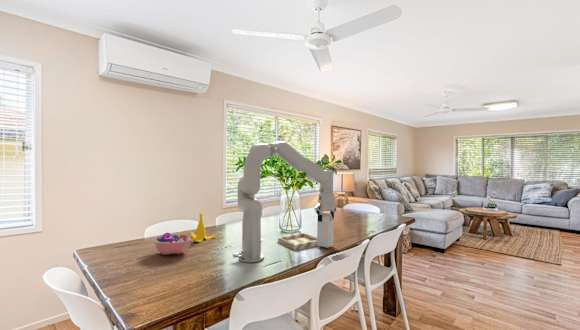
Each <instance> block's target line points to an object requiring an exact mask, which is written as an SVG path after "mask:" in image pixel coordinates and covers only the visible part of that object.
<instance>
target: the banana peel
mask: <svg viewBox="0 0 580 330" xmlns="http://www.w3.org/2000/svg"><path fill="white" fill-rule="evenodd" d="M198 221H199V222H198V224H197V227H196V233H194V232H193V231H189V234H190V237H191V239H192V241H193V243H194V242H196V243H201V242H203V241H204V240H207V241H208V240H212V239H213V238H215V237H216V236H217V235H218V234H219V232H216V233H214V234H212V235H210V236H207V235H206V234H207V233H206V232H207V231H206V228H205V223H204V220H203V213H199V220H198Z"/></svg>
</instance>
